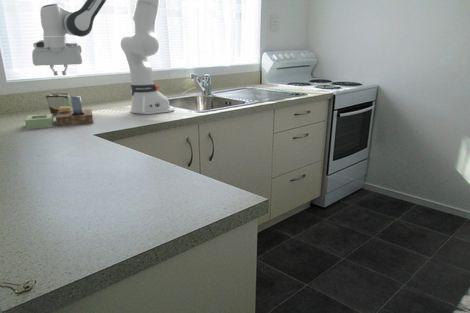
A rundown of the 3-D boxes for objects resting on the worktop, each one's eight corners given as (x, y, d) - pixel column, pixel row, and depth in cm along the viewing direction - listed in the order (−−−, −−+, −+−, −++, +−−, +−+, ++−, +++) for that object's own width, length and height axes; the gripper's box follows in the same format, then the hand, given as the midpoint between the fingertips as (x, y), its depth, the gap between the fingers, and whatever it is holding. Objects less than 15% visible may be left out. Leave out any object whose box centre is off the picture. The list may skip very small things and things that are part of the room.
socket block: (92, 117, 183) (91, 108, 182) (93, 123, 170) (92, 114, 169) (58, 119, 178) (57, 111, 177) (57, 126, 165) (55, 117, 164)
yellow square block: (72, 116, 179) (70, 105, 177) (72, 118, 175) (70, 107, 173) (60, 117, 177) (59, 106, 176) (60, 119, 173) (58, 108, 171)
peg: (83, 121, 174) (80, 95, 170) (83, 123, 170) (80, 97, 167) (74, 122, 173) (71, 96, 169) (74, 124, 169) (70, 97, 165)
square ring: (53, 122, 172) (52, 113, 171) (52, 127, 163) (50, 118, 162) (29, 124, 169) (27, 115, 167) (26, 129, 160) (24, 120, 159)
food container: (76, 111, 196) (74, 92, 193) (70, 114, 190) (68, 94, 187) (54, 111, 197) (51, 92, 194) (48, 113, 191) (44, 94, 188)
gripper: (80, 43, 172) (84, 73, 176) (30, 43, 165) (36, 75, 169) (80, 43, 166) (84, 74, 171) (29, 43, 159) (34, 76, 163)
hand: (60, 75), depth 170 cm, fingers open, 2 cm apart
